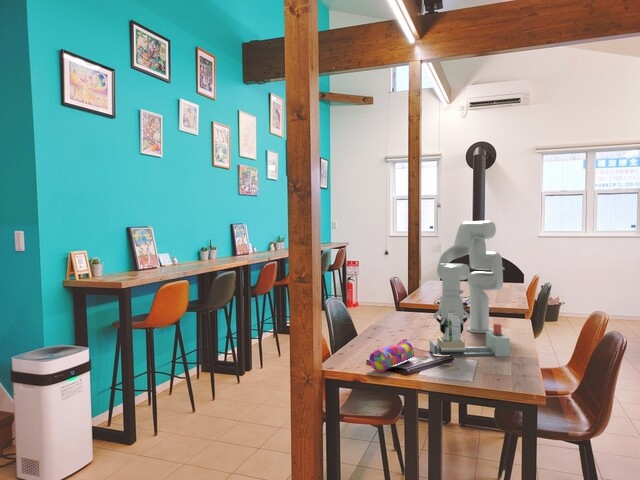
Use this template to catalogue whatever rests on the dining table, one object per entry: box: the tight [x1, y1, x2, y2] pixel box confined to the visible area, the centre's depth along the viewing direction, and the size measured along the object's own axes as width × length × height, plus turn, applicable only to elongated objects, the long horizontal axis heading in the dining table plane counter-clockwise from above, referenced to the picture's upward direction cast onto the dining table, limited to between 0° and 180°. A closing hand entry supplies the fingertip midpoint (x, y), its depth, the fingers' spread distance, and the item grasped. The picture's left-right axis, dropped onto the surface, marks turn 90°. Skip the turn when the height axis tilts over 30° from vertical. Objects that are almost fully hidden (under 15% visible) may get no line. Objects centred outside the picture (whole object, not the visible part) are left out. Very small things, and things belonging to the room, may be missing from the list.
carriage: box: [436, 336, 467, 352], centre depth 202 cm, size 10×10×5 cm
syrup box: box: [442, 312, 462, 342], centre depth 202 cm, size 6×6×14 cm
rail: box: [429, 339, 496, 358], centre depth 202 cm, size 10×26×5 cm, turn 89°
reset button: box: [493, 323, 502, 336], centre depth 202 cm, size 3×3×7 cm
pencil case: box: [368, 338, 415, 373], centre depth 187 cm, size 22×9×9 cm, turn 138°
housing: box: [485, 330, 511, 357], centre depth 202 cm, size 12×6×8 cm, turn 179°
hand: (451, 332), depth 202 cm, fingers closed on syrup box, 7 cm apart
